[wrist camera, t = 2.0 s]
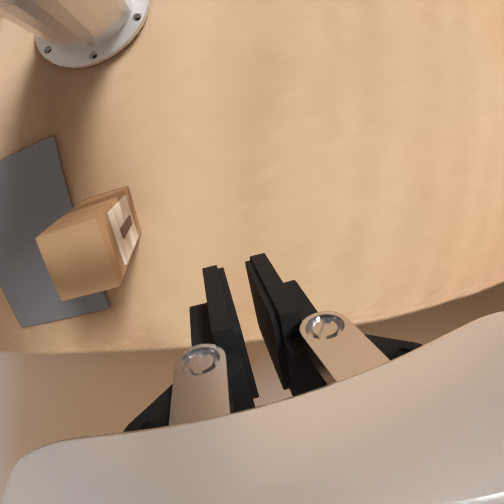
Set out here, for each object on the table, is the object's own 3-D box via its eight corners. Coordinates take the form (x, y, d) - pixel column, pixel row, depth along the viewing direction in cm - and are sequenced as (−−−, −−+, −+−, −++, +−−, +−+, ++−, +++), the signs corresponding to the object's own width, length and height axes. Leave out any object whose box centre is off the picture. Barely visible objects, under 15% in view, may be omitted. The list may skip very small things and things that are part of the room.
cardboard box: (84, 199, 28) (35, 238, 17) (131, 185, 29) (100, 216, 18) (98, 244, 30) (61, 301, 19) (144, 231, 31) (124, 285, 20)
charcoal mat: (-34, 180, 24) (-36, 181, 23) (54, 135, 25) (53, 135, 25) (23, 326, 32) (22, 327, 31) (110, 306, 33) (109, 308, 33)
